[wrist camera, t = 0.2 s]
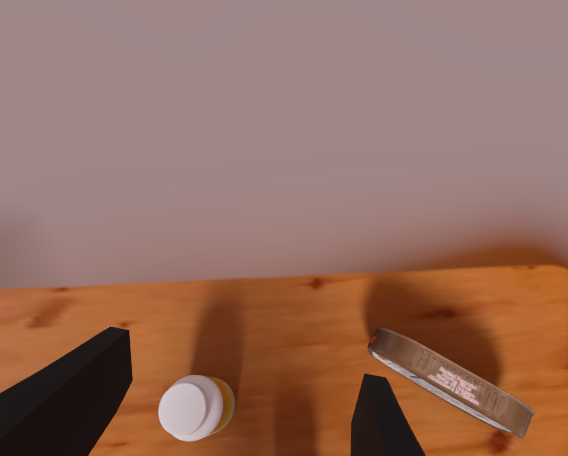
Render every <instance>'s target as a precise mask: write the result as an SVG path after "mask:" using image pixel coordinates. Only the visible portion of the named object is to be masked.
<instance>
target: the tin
mask: <svg viewBox="0 0 568 456" xmlns="http://www.w3.org/2000/svg"><path fill="white" fill-rule="evenodd" d="M368 351H369V353H370V354H371V355H372V356H373V357H374V358H376V359H377V360H379V361H380V362H382V363H383V364H385V365H386V366H388V367H390V368H391V369H393V370H394V371H396V372H398V373H399V374H401V375H403V376H404V377H406V378H408V379H409V380H411V381H413V382H414V383H416V384H417V385H419V386H421V387H422V388H424V389H426V390H427V391H429V392H431V393H432V394H434V395H436V396H438V397H439V398H441V399H443V400H444V401H446V402H448V403H450V404H451V405H453V406H455V407H457V408H458V409H460V410H462V411H464V412H466V413H467V414H469V415H471V416H473V417H475V418H476V419H478V420H480V421H482V422H484V423H486V424H488V425H490V426H492V427H494V428H496V429H498V430H501V431H504V432H509V433H512V434H515V435H516V436H518V437H520V438H523V437H524V436H525V434H526V431H527V429H528V426H529V423H530V421H531V418H532V416H533V415H534V414H535V412H534V410H533V409H532V408H530V407H529V406H528V405H526V404H525V403H524V402H522V401H521V400H519V399H517V398H516V397H514V396H513V395H511V394H509V393H507V392H506V391H504V390H502V389H501V388H499V387H497V386H495V385H493V384H492V383H490V382H488V381H486V380H484V379H483V378H481V377H479V376H477V375H476V374H474V373H472V372H470V371H468V370H466V369H465V368H463V367H461V366H459V365H458V364H456V363H454V362H452V361H450V360H449V359H447V358H445V357H443V356H442V355H440V354H438V353H436V352H435V351H433V350H431V349H429V348H428V347H426V346H424V345H422V344H420V343H418V342H417V341H415V340H413V339H410V338H408V337H406V336H404V335H402V334H399V333H397V332H395V331H393V330H390V329H387V328H384V327H376V328H375V332H374V334H373V336H372V338H371V340H370V342H369V344H368Z"/></svg>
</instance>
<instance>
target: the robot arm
mask: <svg viewBox="0 0 568 456" xmlns="http://www.w3.org/2000/svg"><path fill="white" fill-rule="evenodd" d="M132 380H133V379H132V364H131V350H130V335H129V330H126V329H120V328H115V327H109V328H107V329H106V330H104V331H102V332H101V333H99V334H98V335H96V336H94V337H93V338H91V339H90V340H88V341H86V342H85V343H83V344H82V345H80V346H79V347H77V348H76V349H74V350H72V351H71V352H69V353H68V354H66V355H64V356H63V357H61V358H60V359H58V360H56V361H55V362H53V363H51V364H50V365H48V366H47V367H45V368H43V369H42V370H40V371H38V372H37V373H35V374H33V375H31V376H30V377H28V378H26V379H24V380H23V381H21V382H19V383H17V384H16V385H14V386H12V387H10V388H9V389H7V390H5V391H3V392H2V393H0V456H88V455H89V453H90V452H91V450H92V449H93V447H94V446H95V444H96V443H97V441H98V440H99V438H100V437H101V435H102V434H103V432H104V431H105V429H106V427H107V426H108V424H109V423H110V421H111V420H112V418H113V417H114V415H115V414H116V412H117V410H118V408H119V406H120V404H121V402H122V400H123V399H124V397H125V394H126V392H127V390H128V388H129V386H130V384H131V382H132ZM351 456H426V455H425V453H424V452H423V450H422V448H421V446H420V444H419V442H418V441H417V439H416V437H415V435H414V433H413V431H412V430H411V428H410V426H409V424H408V422H407V420H406V418H405V416H404V414H403V412H402V410H401V408H400V406H399V404H398V402H397V399H396V397H395V395H394V393H393V391H392V389H391V386H390V384H389V382H388V380H387V379H386V377H380V376H375V375H369V374H364V377H363V381H362V385H361V388H360V392H359V396H358V400H357V403H356V407H355V411H354V415H353V418H352V422H351Z"/></svg>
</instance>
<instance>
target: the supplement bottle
mask: <svg viewBox="0 0 568 456" xmlns="http://www.w3.org/2000/svg"><path fill="white" fill-rule="evenodd" d="M234 409H235V397H234V394H233V391H232V389H231V388H230V386H229V385H228V384H227V383H226V382H225V381H223V380H221V379H219V378H216V377H208V376H202V375H190V376H186V377H183V378H181V379H179V380H178V381H176V382H175V383H174V384H173V385H172V386H171V387H170V388H169V389H168V390H167V391H166V392H165V394H164V395H163V397H162V399H161V401H160V404H159V419H160V422H161V425H162V426H163V428H164V429H165V430H166V431H167V432H169V433H170V434H172V435H173V436H174V437H175V438H177V439H179V440H182V441H196V440H200V439H202V438H204V437H207V436H209V435H211V434H214V433H216V432H218V431H220V430H222V429H223V428H224V427H225V426H226V425H227V424H228V423H229V421H230V420H231V418H232V416H233V413H234Z"/></svg>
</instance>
